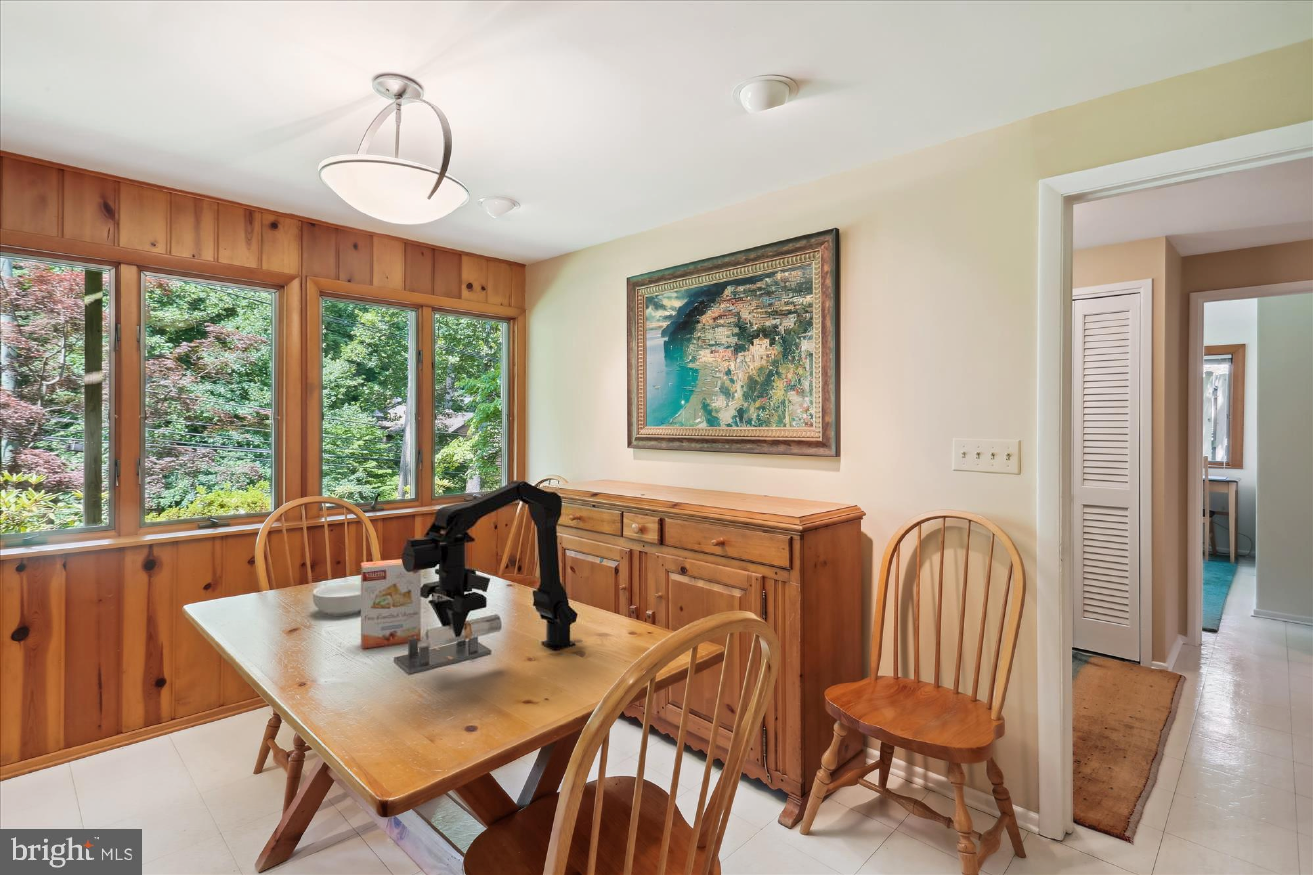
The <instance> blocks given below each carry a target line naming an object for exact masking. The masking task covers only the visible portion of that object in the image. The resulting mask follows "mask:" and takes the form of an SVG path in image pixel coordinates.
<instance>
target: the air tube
mask: <svg viewBox="0 0 1313 875" xmlns="http://www.w3.org/2000/svg"><path fill="white" fill-rule="evenodd" d="M501 630H502V619H501V617H500V615H499V614H497V613H495V614H491V615H485V616H482V617H478V618H474V619H473V618H472V619H469V620H468V619H467V620H466V621H465V624H464V627H463V630H462V633H461V636H459V637H455V634H454V631H453V628H452V625H451V624H450V625H445V626H442V625H441V626H438V627H432V628H429V629H426V632H425V642H426V645H428V647H429V649H433V648H437V647H441V646H446V645H450V644H454V643H456V642H458V641H463V640H466V641H467V640H468V639H471V638H475V637H478V638H479V637H481V636H486V635H490V634H495V633H497V632H500V631H501Z"/></svg>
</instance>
